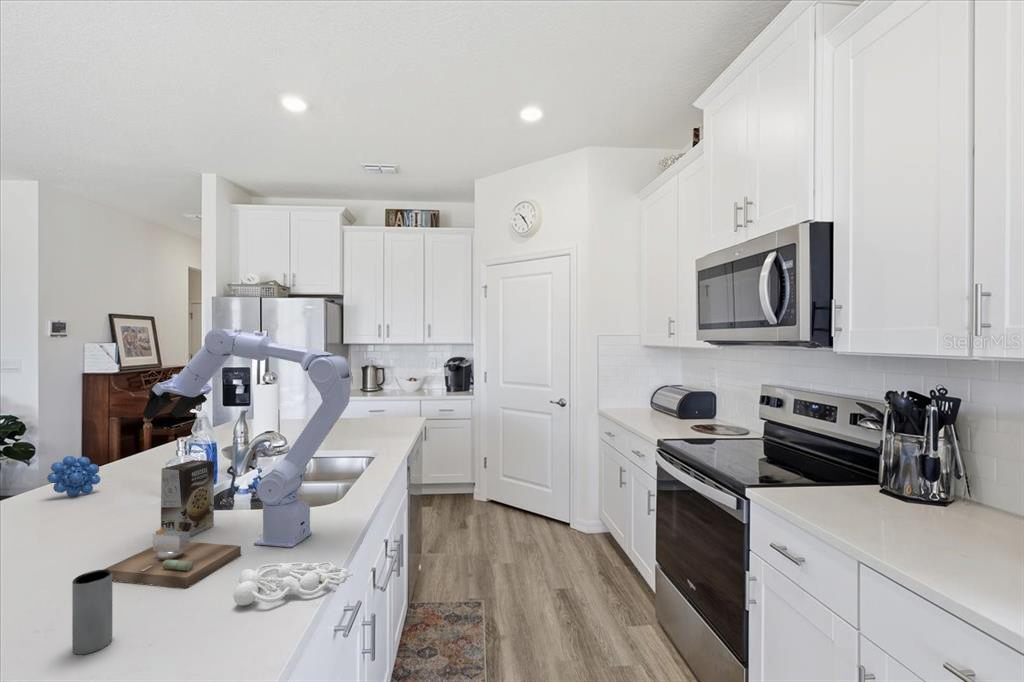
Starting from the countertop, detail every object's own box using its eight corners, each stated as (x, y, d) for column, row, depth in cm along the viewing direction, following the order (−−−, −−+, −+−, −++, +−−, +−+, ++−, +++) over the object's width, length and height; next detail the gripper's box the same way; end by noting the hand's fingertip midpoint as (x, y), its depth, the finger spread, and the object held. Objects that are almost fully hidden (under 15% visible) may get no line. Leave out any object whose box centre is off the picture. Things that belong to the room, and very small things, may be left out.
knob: (193, 551, 100) (193, 528, 100) (175, 561, 96) (175, 536, 96) (167, 549, 101) (167, 526, 101) (148, 558, 97) (148, 534, 97)
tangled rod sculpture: (349, 568, 101) (349, 547, 102) (353, 596, 88) (354, 572, 88) (242, 581, 94) (243, 559, 95) (230, 614, 81) (231, 588, 81)
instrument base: (240, 555, 104) (240, 538, 104) (186, 588, 90) (186, 568, 90) (166, 549, 107) (166, 532, 107) (103, 580, 93) (103, 561, 93)
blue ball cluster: (49, 504, 135) (49, 461, 135) (45, 499, 140) (45, 457, 140) (103, 494, 144) (103, 453, 144) (98, 490, 149) (98, 450, 149)
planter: (65, 650, 72) (65, 580, 72) (100, 633, 76) (100, 567, 76) (84, 658, 70) (84, 586, 70) (119, 639, 75) (119, 572, 75)
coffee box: (183, 541, 111) (183, 469, 111) (159, 538, 112) (159, 468, 112) (215, 526, 120) (215, 460, 120) (192, 524, 121) (192, 458, 121)
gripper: (211, 361, 121) (175, 403, 121) (161, 357, 106) (121, 405, 107) (230, 380, 119) (193, 422, 120) (182, 379, 105) (141, 427, 105)
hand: (160, 415), depth 113 cm, fingers open, 7 cm apart
